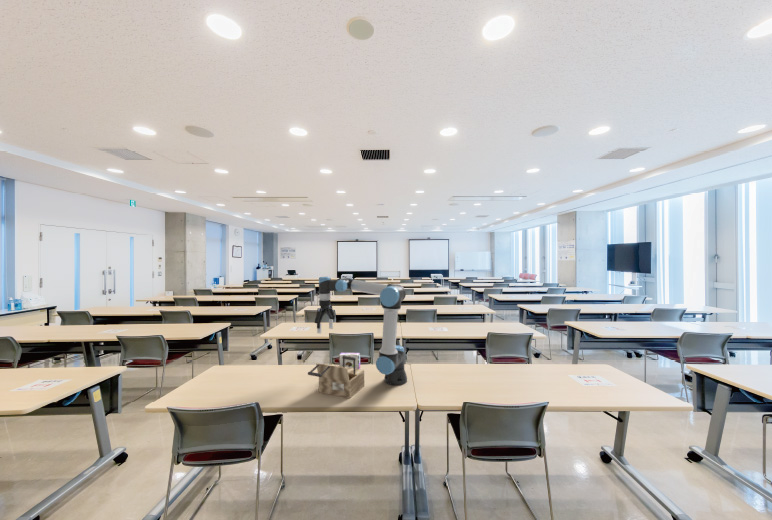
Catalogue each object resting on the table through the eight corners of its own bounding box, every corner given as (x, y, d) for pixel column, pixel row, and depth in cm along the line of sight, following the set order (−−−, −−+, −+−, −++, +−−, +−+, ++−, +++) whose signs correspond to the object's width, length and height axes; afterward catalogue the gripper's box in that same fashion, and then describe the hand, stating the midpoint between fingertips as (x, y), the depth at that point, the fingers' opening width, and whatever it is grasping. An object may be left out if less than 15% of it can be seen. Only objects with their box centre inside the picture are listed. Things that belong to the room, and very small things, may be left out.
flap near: (347, 367, 183) (337, 378, 174) (349, 381, 185) (339, 392, 176) (316, 362, 192) (305, 372, 183) (318, 375, 194) (308, 386, 185)
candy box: (360, 376, 219) (360, 352, 219) (359, 379, 213) (358, 355, 213) (341, 375, 220) (340, 352, 220) (339, 378, 215) (338, 354, 214)
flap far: (363, 370, 202) (363, 353, 201) (356, 376, 193) (356, 358, 193) (335, 366, 211) (334, 349, 210) (327, 371, 202) (326, 354, 202)
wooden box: (364, 386, 202) (364, 370, 202) (349, 398, 186) (349, 381, 185) (335, 380, 211) (335, 366, 211) (318, 392, 195) (318, 375, 194)
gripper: (330, 296, 227) (331, 326, 227) (308, 302, 204) (309, 334, 204) (339, 297, 224) (340, 327, 224) (318, 302, 201) (318, 335, 201)
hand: (325, 330), depth 214 cm, fingers open, 13 cm apart
